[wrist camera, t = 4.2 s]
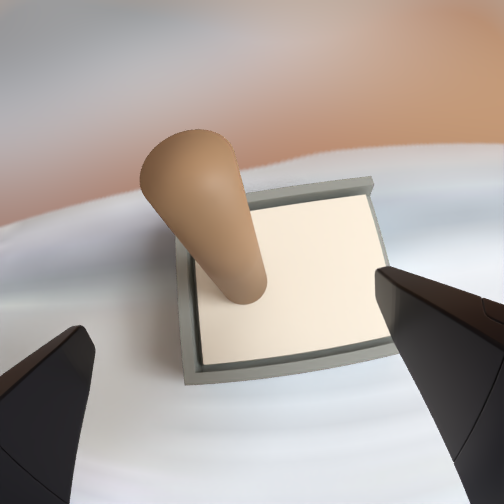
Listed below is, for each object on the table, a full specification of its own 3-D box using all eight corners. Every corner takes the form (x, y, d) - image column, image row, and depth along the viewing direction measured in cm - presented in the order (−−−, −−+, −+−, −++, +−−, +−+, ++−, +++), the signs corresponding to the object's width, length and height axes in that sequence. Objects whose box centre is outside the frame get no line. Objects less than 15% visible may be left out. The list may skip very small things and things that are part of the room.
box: (204, 383, 18) (184, 385, 15) (192, 232, 22) (174, 206, 18) (393, 353, 18) (416, 349, 14) (360, 206, 21) (371, 176, 18)
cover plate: (208, 365, 16) (86, 347, 6) (197, 228, 19) (115, 90, 9) (394, 335, 16) (523, 274, 5) (362, 202, 19) (409, 50, 8)
